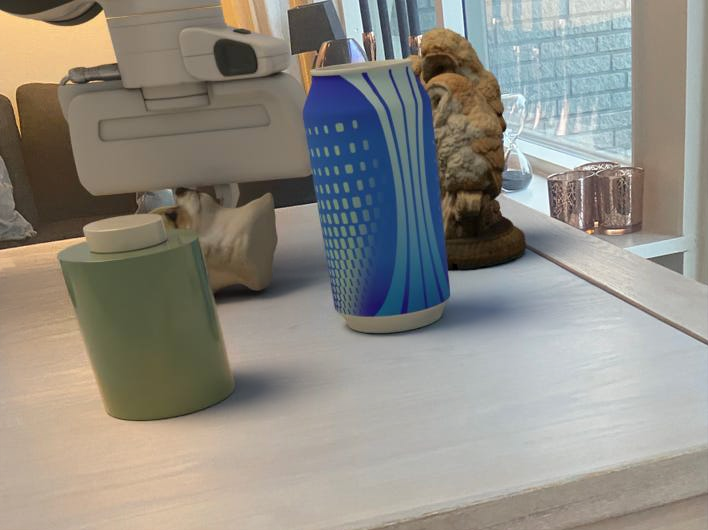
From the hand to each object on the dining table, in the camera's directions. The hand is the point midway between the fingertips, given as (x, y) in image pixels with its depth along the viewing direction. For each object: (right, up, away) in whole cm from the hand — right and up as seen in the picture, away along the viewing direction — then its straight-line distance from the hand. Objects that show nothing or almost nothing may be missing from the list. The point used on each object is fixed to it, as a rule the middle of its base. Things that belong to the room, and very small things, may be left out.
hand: (217, 241), depth 83 cm
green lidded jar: (+4, -19, -23) cm, 31 cm away
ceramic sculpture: (0, -6, -3) cm, 6 cm away
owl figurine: (+20, +1, +4) cm, 21 cm away
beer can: (+17, -11, -13) cm, 24 cm away
